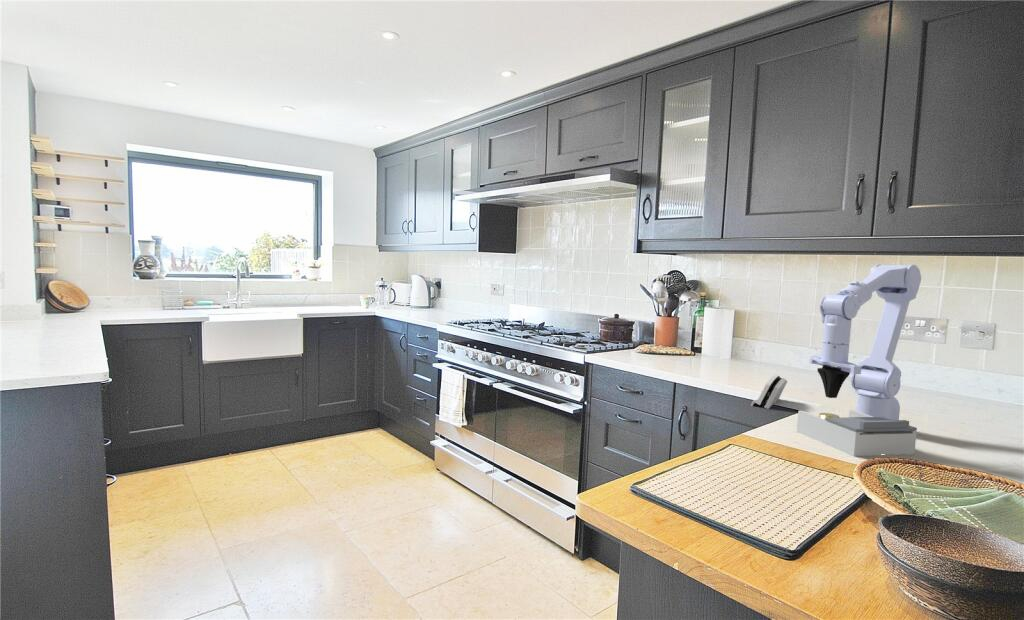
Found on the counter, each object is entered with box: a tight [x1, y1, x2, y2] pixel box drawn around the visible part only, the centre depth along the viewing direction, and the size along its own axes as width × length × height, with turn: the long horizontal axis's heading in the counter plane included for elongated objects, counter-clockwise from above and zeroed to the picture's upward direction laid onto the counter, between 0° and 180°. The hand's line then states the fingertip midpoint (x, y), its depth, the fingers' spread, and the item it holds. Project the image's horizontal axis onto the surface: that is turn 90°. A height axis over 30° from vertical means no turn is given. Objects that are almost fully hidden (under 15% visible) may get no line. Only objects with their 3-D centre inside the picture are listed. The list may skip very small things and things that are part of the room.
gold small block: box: [818, 412, 841, 419], centre depth 135 cm, size 4×4×5 cm
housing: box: [796, 409, 917, 457], centre depth 129 cm, size 16×18×6 cm
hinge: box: [750, 374, 788, 410], centre depth 167 cm, size 17×5×10 cm, turn 144°
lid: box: [825, 416, 918, 432], centre depth 125 cm, size 16×9×2 cm, turn 101°
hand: (831, 397), depth 134 cm, fingers closed
